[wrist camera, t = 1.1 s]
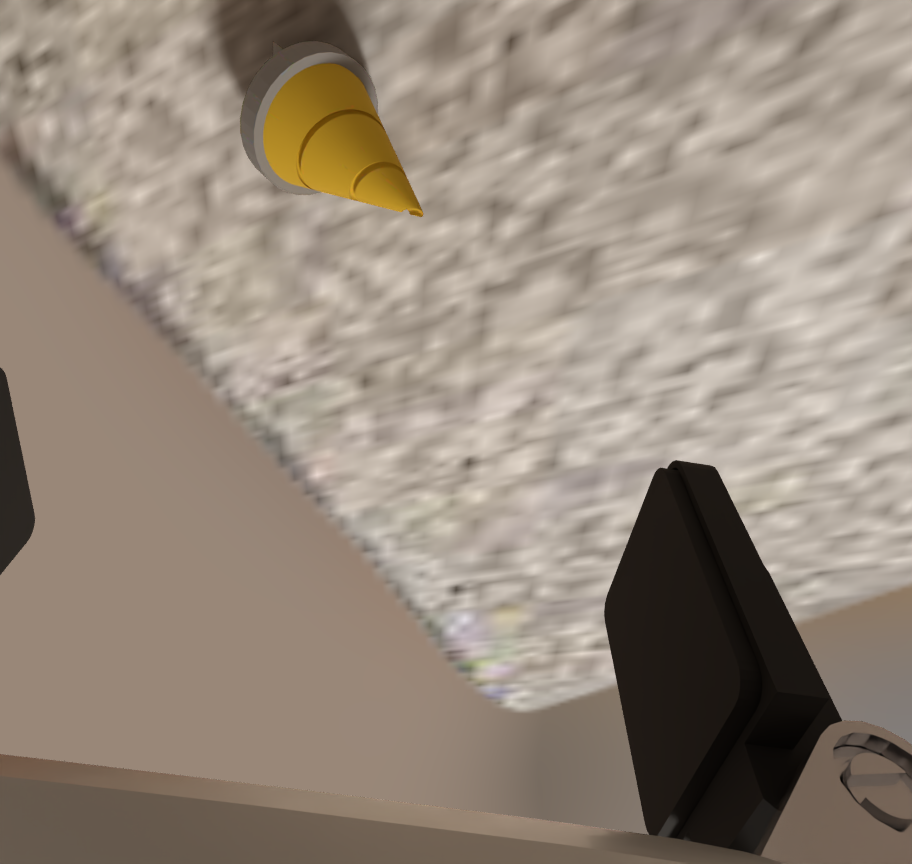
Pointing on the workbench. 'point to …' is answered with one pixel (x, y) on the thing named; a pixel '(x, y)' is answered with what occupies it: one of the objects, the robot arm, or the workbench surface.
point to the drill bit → (322, 129)
